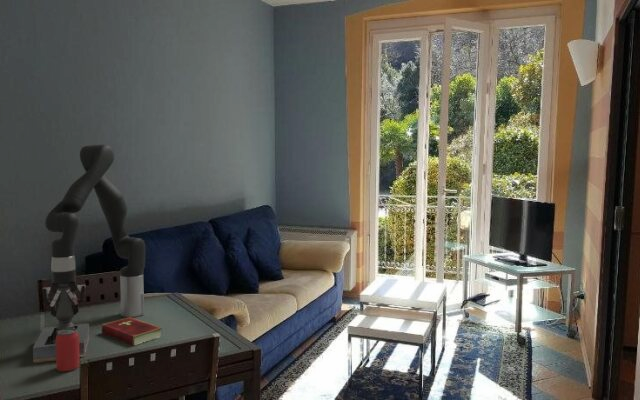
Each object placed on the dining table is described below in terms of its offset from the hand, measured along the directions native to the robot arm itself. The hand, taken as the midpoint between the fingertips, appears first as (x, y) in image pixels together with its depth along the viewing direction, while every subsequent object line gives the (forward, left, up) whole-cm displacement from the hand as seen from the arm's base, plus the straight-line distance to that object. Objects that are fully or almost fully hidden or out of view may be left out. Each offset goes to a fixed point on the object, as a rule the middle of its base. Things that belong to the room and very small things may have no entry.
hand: (65, 314), depth 176 cm
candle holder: (0, 0, -9) cm, 9 cm away
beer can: (-3, +23, -11) cm, 25 cm away
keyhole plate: (0, +4, -11) cm, 12 cm away
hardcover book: (-22, -3, -11) cm, 25 cm away
